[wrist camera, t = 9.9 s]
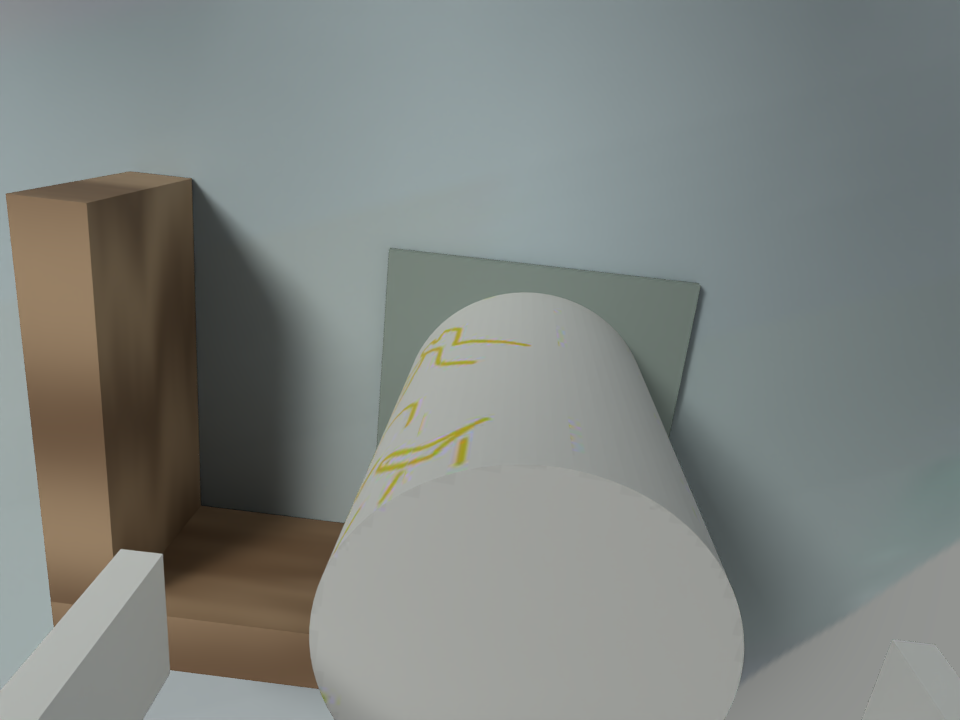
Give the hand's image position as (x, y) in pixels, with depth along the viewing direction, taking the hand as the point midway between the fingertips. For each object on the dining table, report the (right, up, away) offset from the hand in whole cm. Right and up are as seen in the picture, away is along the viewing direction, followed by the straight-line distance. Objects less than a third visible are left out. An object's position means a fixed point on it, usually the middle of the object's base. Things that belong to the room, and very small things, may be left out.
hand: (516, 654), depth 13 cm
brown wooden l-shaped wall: (-2, +4, +12) cm, 13 cm away
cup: (+1, +4, +12) cm, 13 cm away
